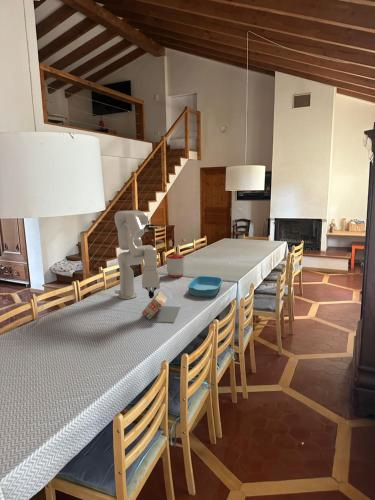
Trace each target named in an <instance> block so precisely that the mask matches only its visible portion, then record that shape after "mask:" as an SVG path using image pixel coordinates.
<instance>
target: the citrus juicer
mask: <svg viewBox="0 0 375 500" xmlns="http://www.w3.org/2000/svg"><path fill="white" fill-rule="evenodd" d="M185 257H186V256H184V255H182V254H181V255H180V254H178V253H176V252H175V253H173V254H171V255H167V257H166V258H165V259H166V260H165V261H164V263H165V264H166V272H167V276H168V277H169V278H181V277H183V276H184V273H185V272H184V271H185Z"/></svg>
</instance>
